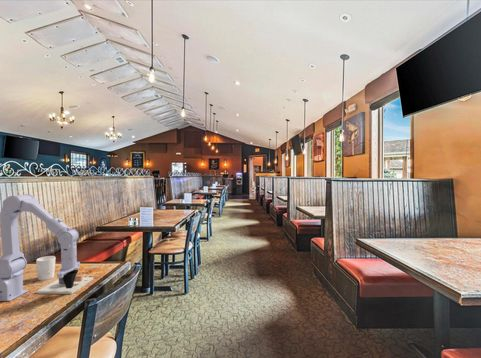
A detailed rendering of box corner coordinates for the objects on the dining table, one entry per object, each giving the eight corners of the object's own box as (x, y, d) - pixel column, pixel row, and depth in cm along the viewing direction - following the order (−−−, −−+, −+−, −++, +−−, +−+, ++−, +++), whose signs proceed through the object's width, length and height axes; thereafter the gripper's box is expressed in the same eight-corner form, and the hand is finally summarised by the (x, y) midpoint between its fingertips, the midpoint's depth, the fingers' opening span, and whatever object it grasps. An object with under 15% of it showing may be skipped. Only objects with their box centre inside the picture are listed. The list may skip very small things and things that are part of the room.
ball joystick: (55, 283, 120) (55, 278, 120) (64, 278, 126) (64, 273, 126) (77, 283, 120) (77, 278, 120) (85, 278, 126) (85, 273, 126)
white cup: (59, 275, 136) (59, 256, 136) (47, 281, 128) (46, 261, 128) (45, 274, 137) (45, 255, 137) (32, 280, 129) (32, 260, 129)
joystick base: (71, 294, 115) (71, 289, 115) (36, 293, 115) (36, 288, 115) (93, 279, 131) (93, 275, 131) (62, 278, 131) (62, 274, 131)
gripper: (69, 262, 109) (69, 294, 109) (86, 252, 123) (86, 280, 123) (51, 263, 108) (51, 295, 108) (70, 252, 122) (71, 281, 123)
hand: (69, 287), depth 116 cm, fingers closed
